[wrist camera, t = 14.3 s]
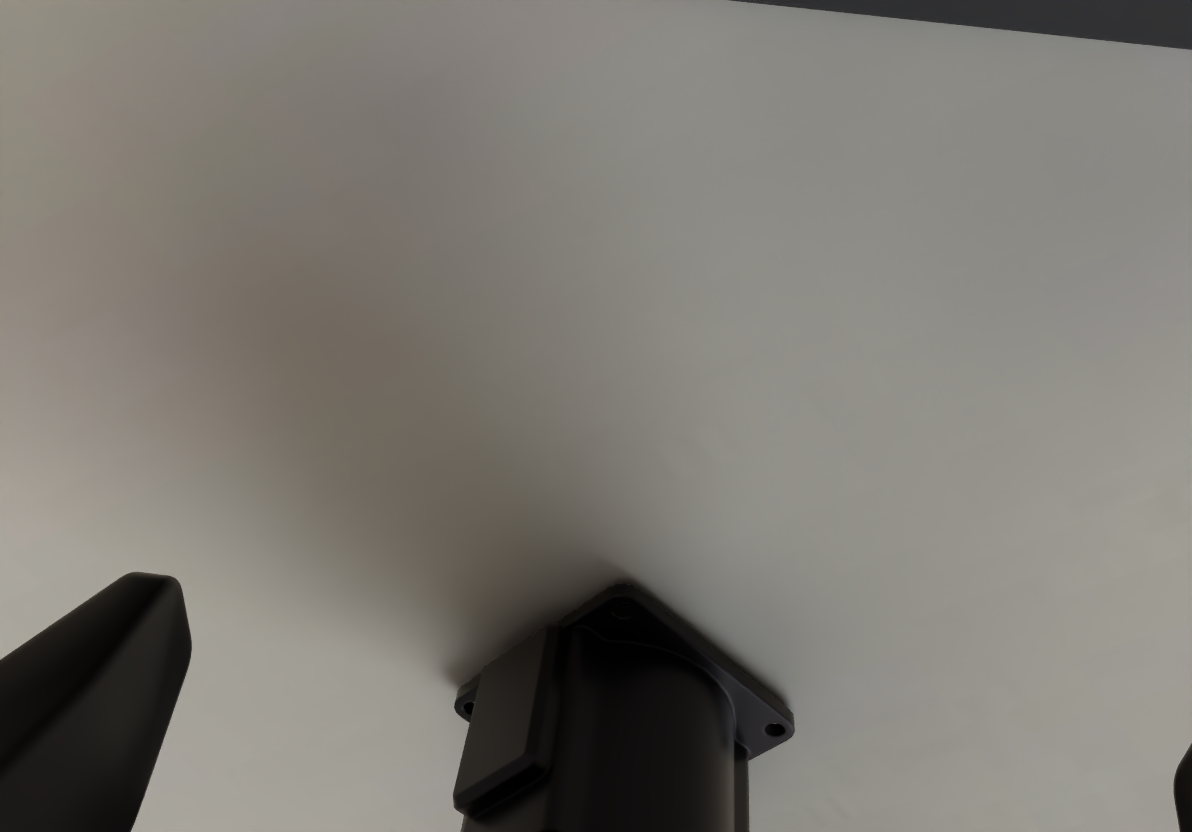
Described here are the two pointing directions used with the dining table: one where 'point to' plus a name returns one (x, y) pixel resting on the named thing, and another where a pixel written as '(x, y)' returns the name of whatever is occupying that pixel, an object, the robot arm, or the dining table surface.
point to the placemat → (1036, 16)
